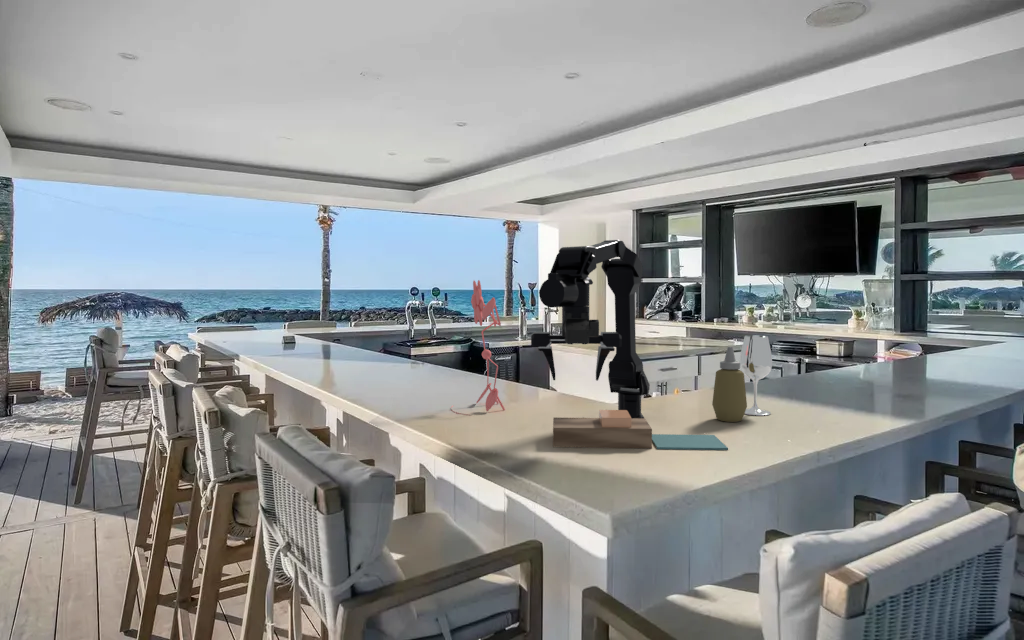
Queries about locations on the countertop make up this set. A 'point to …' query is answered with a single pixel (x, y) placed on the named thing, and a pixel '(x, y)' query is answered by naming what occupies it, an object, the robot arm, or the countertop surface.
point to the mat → (687, 442)
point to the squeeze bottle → (729, 390)
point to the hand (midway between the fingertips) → (575, 380)
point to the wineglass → (756, 365)
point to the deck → (600, 434)
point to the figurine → (484, 312)
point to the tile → (615, 418)
